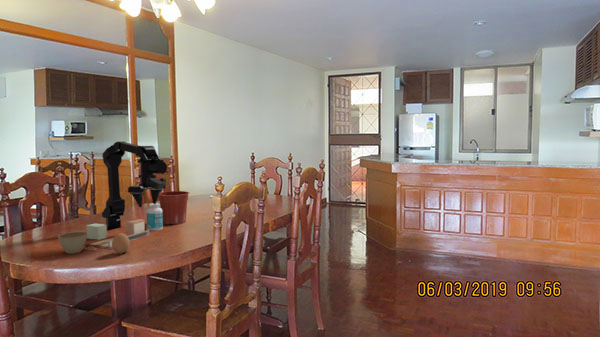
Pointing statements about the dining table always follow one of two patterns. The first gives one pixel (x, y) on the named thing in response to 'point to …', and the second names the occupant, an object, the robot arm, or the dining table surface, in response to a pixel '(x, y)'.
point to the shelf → (109, 241)
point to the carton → (134, 226)
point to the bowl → (73, 241)
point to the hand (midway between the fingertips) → (147, 205)
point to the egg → (120, 243)
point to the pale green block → (96, 231)
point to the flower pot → (173, 206)
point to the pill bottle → (154, 217)
